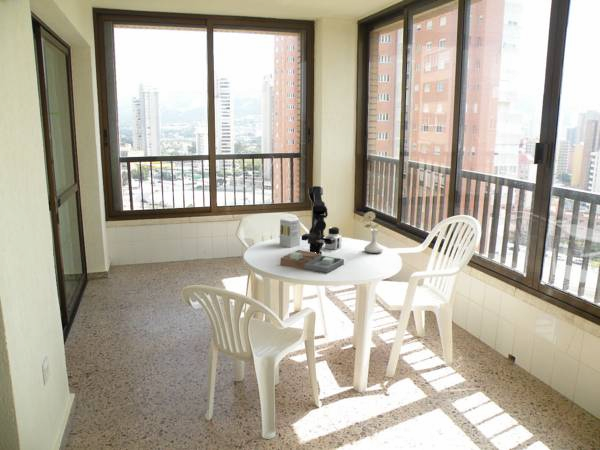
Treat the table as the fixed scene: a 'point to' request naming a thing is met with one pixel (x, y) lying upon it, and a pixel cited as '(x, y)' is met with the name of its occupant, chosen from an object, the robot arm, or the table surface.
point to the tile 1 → (296, 255)
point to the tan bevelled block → (299, 263)
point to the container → (338, 239)
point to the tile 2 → (328, 260)
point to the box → (323, 265)
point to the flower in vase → (373, 246)
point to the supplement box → (289, 232)
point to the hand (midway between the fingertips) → (317, 253)
